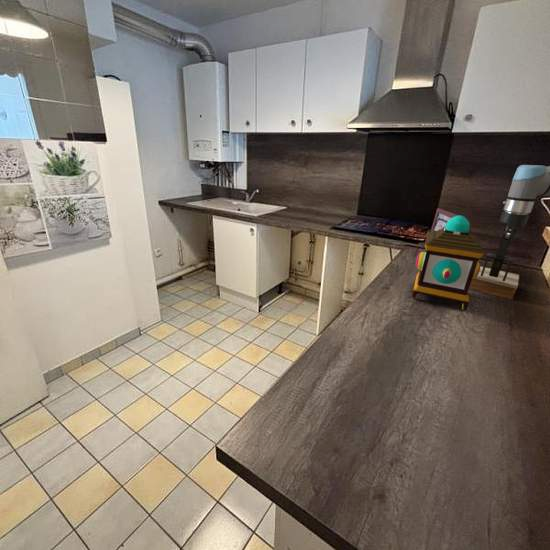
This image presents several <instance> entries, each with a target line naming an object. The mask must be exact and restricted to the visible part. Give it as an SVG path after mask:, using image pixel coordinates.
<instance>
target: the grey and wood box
mask: <svg viewBox="0 0 550 550" xmlns="http://www.w3.org/2000/svg"><path fill="white" fill-rule="evenodd" d="M496 255H497V254H494V253H490V252H489V253H486V257H485V261H484V265H483V266H481V265H480V271H479V274H478V276H477V277H476V278H475V279H479V280H483V281H487V282H491V283H495V284H499V285H504V286H508V287H512V288H516V290H517V289H518V286H519V281H520V274H518V273H513V272H509V271H510V268H511V266H512V264H513V263H514V258H513V257H511V256H509V257H508V256H505V257H504V261H503V263H507V264H508V265H507V267H506V270H505V271H504V270H500V272H499V275H498V278H497V277H492V276H489V273H490V270H491V268H490V267H487V265H488V262H489V260H491V261H494V259H492V258H495V257H496ZM499 257H500V256H499Z"/></svg>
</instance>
